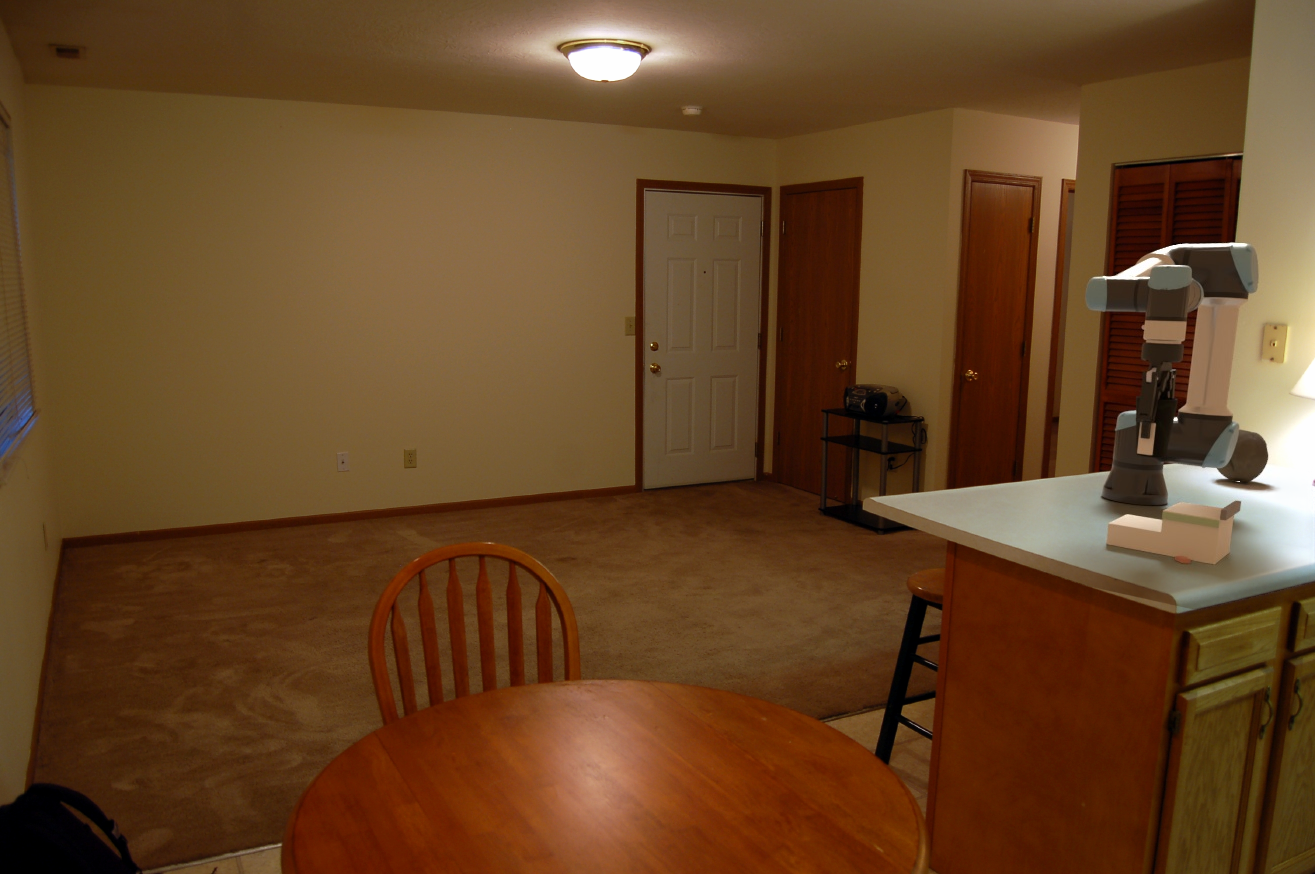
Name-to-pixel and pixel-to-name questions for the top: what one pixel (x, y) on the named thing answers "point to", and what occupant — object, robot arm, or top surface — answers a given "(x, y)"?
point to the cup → (1160, 426)
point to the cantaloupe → (1246, 458)
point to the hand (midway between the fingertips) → (1151, 451)
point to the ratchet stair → (1179, 532)
